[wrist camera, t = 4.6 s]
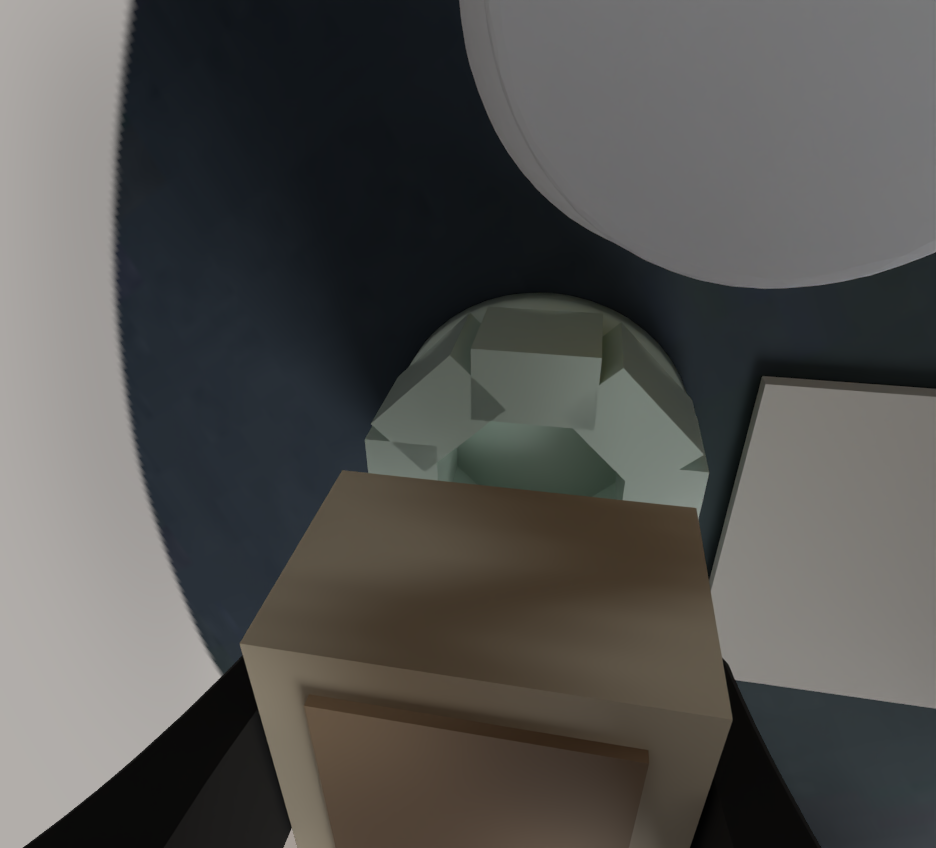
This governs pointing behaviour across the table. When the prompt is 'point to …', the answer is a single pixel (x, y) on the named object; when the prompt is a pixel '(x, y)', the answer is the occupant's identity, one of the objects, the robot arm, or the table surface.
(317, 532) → the beige square box
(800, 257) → the supplement bottle
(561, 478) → the bowl
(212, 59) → the table surface
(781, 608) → the mat
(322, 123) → the table surface
